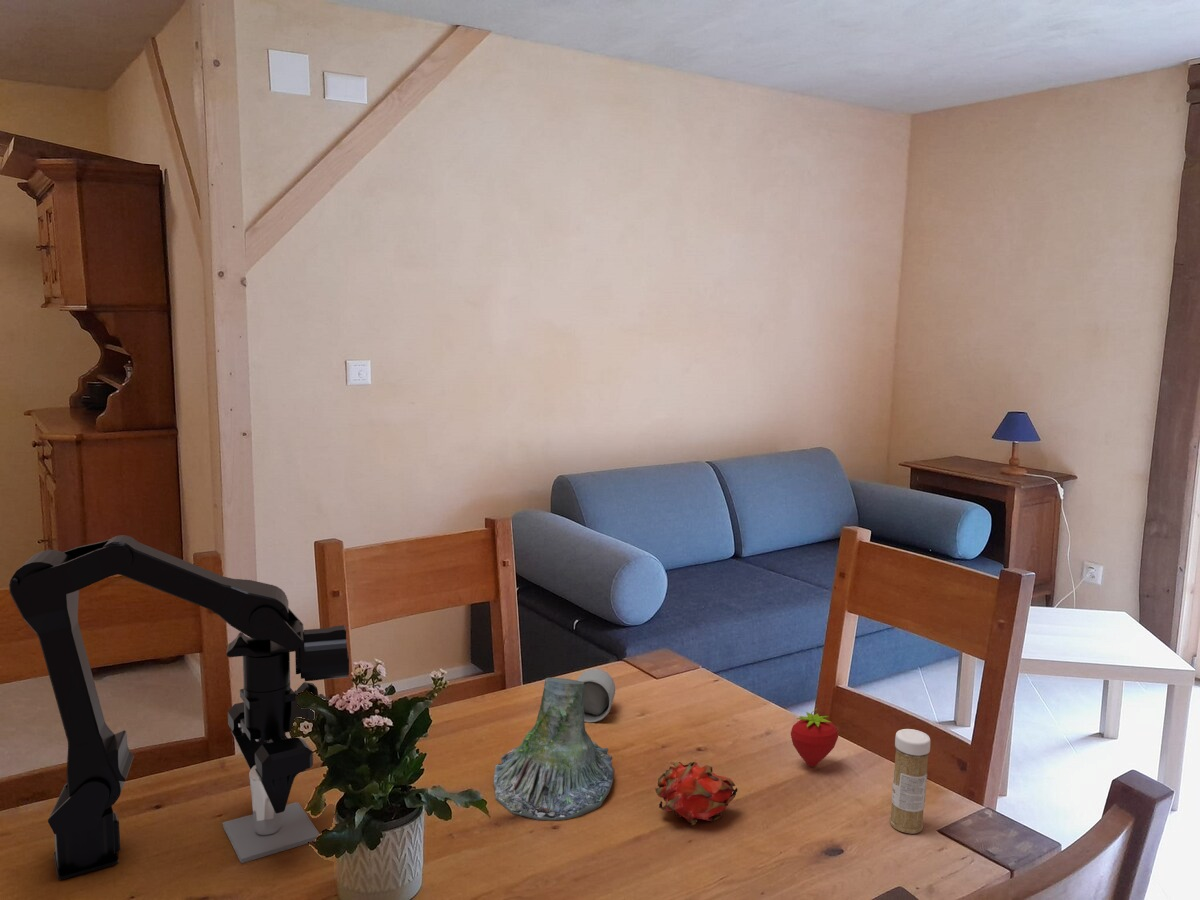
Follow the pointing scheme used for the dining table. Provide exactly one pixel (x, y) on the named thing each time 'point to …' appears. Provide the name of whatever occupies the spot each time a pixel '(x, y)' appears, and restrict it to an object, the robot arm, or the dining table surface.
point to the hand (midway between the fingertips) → (270, 796)
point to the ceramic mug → (597, 694)
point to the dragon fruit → (695, 792)
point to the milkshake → (262, 807)
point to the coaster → (255, 846)
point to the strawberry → (813, 738)
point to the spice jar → (909, 780)
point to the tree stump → (555, 761)
